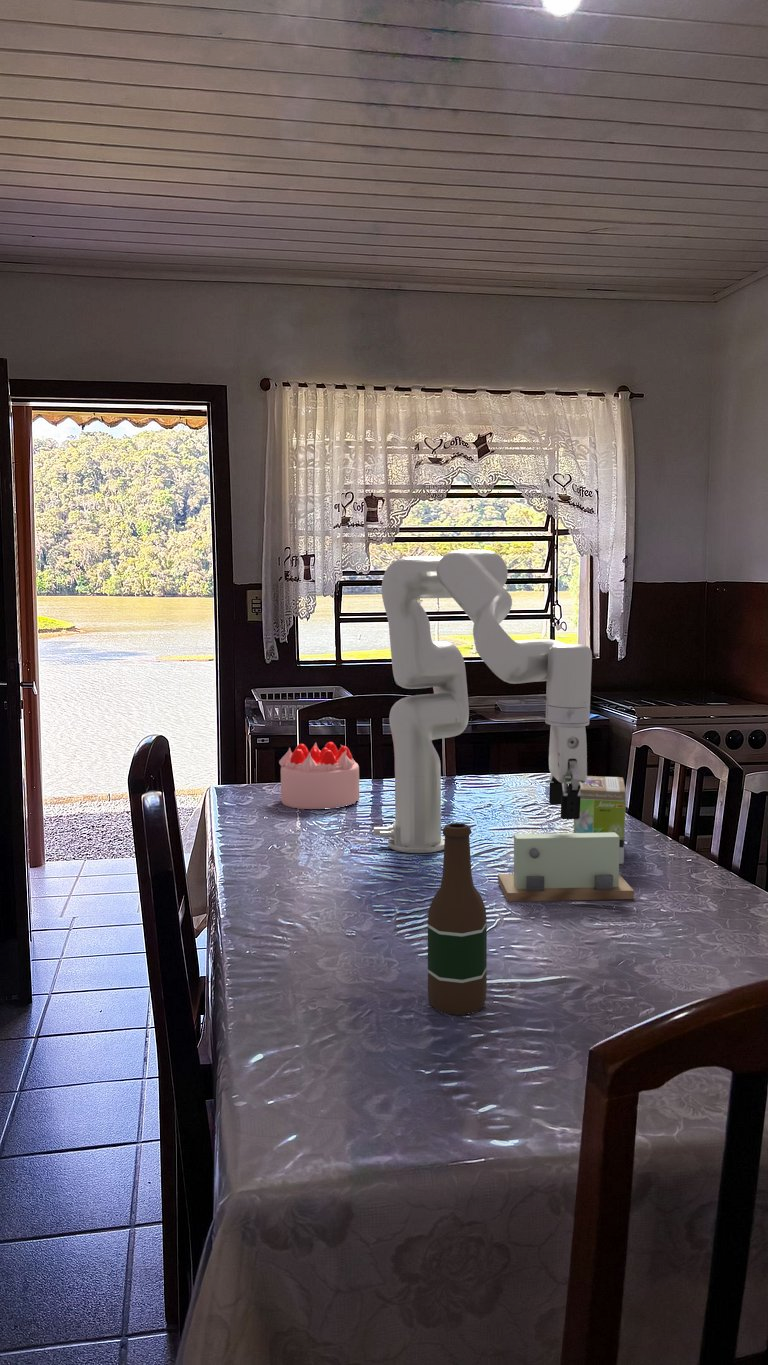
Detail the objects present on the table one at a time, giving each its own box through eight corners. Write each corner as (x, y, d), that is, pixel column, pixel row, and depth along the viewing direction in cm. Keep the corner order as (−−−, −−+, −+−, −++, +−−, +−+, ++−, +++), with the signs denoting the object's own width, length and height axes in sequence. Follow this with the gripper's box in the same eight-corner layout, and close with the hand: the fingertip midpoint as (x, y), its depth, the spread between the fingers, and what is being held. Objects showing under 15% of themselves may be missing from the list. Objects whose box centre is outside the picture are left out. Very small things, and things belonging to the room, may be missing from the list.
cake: (357, 810, 238) (357, 752, 237) (275, 811, 239) (274, 753, 237) (360, 793, 258) (360, 739, 256) (284, 793, 258) (283, 740, 257)
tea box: (625, 865, 191) (626, 790, 190) (572, 863, 193) (573, 788, 192) (622, 845, 206) (623, 775, 204) (573, 842, 208) (574, 773, 206)
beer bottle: (424, 992, 133) (423, 818, 131) (481, 990, 134) (481, 817, 131) (431, 1018, 126) (431, 833, 123) (492, 1015, 126) (492, 831, 124)
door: (517, 890, 171) (517, 840, 170) (513, 883, 175) (513, 834, 174) (620, 888, 172) (621, 838, 171) (614, 881, 176) (614, 832, 175)
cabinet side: (507, 901, 170) (507, 893, 170) (498, 882, 181) (498, 874, 181) (633, 899, 171) (633, 890, 171) (616, 879, 182) (616, 871, 182)
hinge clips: (527, 891, 171) (527, 877, 171) (521, 881, 177) (521, 867, 176) (612, 889, 171) (613, 875, 171) (604, 879, 177) (604, 866, 177)
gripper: (601, 724, 162) (597, 825, 165) (577, 707, 180) (574, 799, 182) (556, 723, 162) (552, 824, 165) (536, 707, 179) (533, 798, 182)
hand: (563, 811), depth 173 cm, fingers open, 9 cm apart
